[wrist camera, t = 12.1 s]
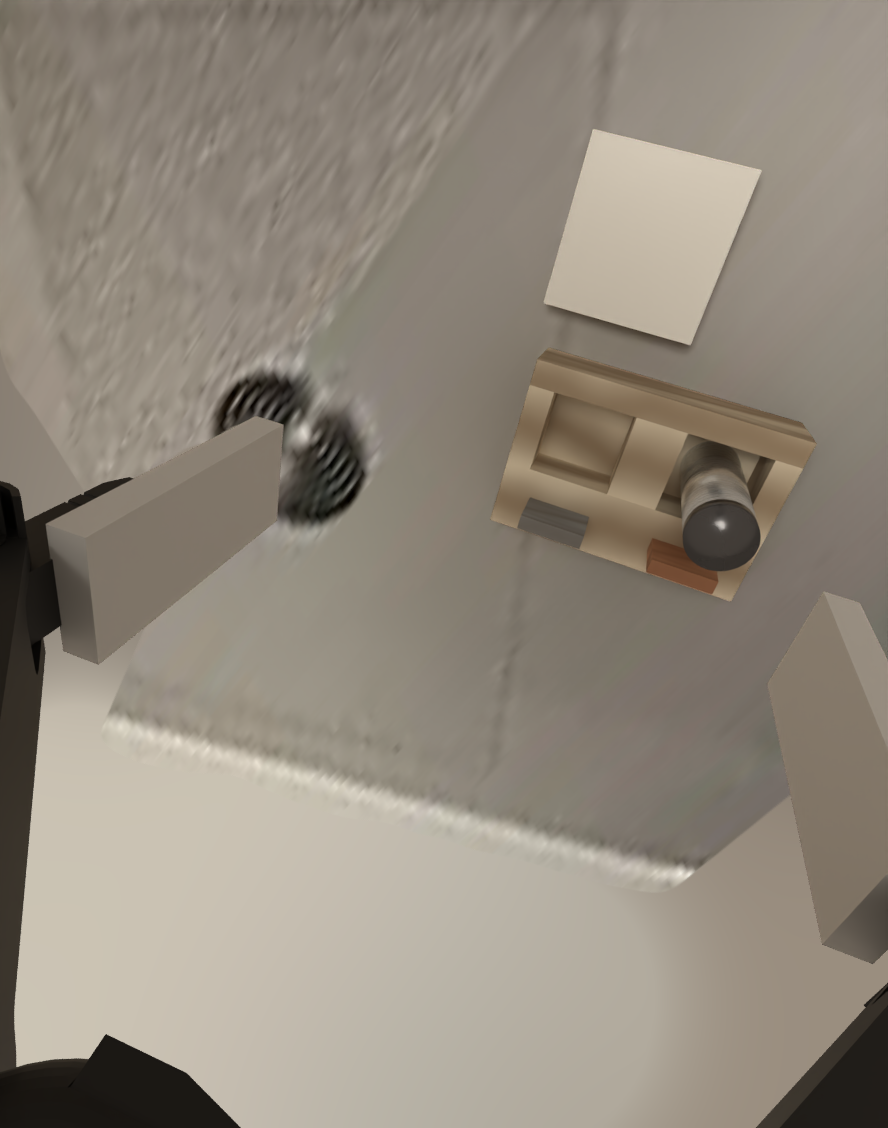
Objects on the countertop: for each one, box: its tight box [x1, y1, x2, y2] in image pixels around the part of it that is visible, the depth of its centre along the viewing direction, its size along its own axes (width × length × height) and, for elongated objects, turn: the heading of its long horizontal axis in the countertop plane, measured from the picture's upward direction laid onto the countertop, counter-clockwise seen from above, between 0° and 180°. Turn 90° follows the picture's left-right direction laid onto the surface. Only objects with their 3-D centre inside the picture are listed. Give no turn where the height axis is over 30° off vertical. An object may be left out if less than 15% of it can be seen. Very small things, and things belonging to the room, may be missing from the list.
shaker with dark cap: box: [680, 441, 761, 571], centre depth 42 cm, size 4×4×12 cm
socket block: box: [490, 348, 817, 601], centre depth 45 cm, size 12×18×8 cm, turn 77°
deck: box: [544, 129, 762, 345], centre depth 42 cm, size 10×10×2 cm
